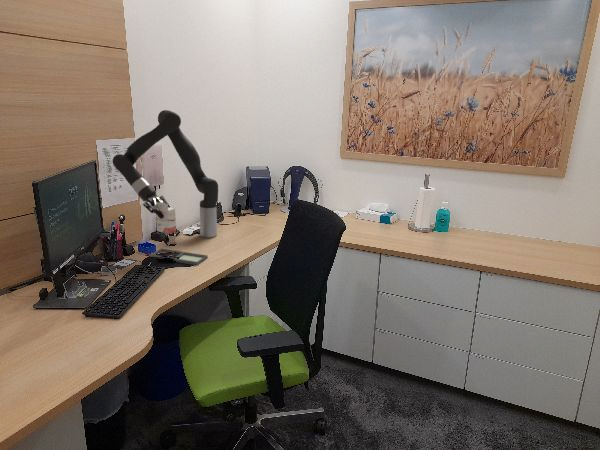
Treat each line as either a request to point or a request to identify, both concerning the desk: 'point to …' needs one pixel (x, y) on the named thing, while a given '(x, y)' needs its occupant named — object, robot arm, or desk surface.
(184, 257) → the jack panel
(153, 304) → the desk surface
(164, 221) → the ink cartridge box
